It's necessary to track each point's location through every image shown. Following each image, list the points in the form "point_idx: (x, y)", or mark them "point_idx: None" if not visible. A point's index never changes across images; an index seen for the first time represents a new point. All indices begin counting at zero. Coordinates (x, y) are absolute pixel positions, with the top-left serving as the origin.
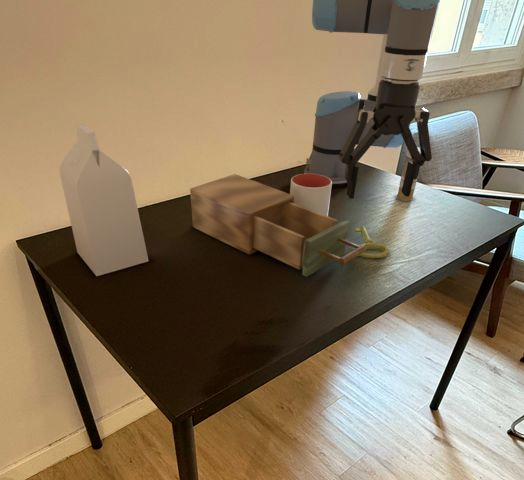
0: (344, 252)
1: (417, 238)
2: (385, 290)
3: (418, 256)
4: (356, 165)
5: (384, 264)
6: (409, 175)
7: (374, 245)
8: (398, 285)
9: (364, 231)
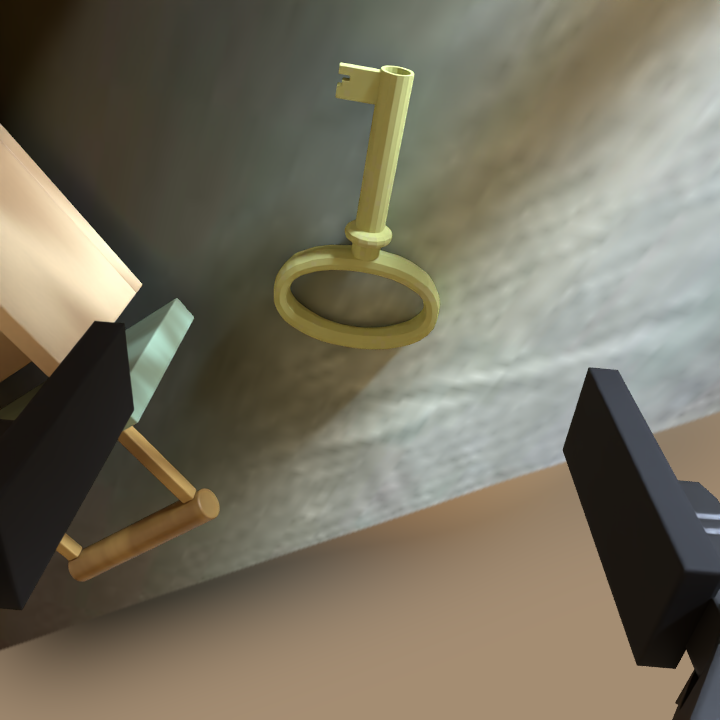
0: (190, 324)
1: (716, 184)
2: (292, 530)
3: (573, 359)
4: (6, 572)
5: (373, 387)
6: (613, 550)
7: (382, 275)
8: (354, 516)
9: (381, 139)
